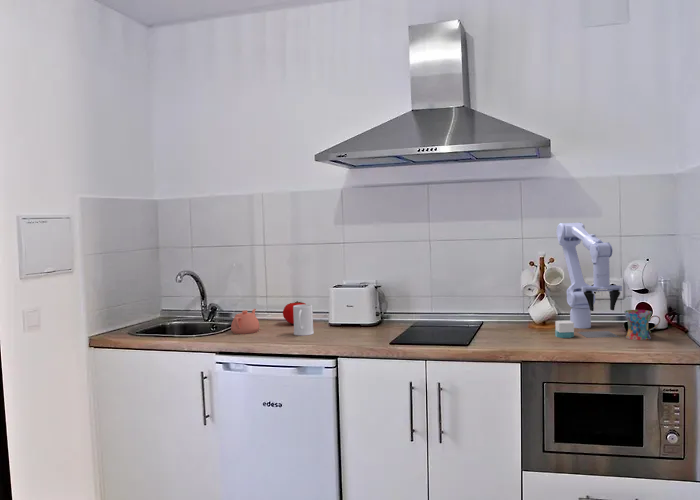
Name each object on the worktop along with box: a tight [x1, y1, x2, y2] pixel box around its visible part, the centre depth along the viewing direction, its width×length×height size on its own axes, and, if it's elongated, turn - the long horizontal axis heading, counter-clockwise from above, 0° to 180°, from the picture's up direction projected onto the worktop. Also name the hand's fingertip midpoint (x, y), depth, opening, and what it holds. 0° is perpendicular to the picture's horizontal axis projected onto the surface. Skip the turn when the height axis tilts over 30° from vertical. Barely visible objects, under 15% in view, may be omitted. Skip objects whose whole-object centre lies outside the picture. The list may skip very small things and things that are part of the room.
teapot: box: [230, 308, 261, 335], centre depth 288 cm, size 12×18×10 cm
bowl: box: [554, 329, 575, 339], centre depth 247 cm, size 6×6×3 cm
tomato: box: [282, 300, 306, 325], centre depth 304 cm, size 13×12×11 cm
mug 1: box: [293, 303, 315, 337], centre depth 276 cm, size 12×8×12 cm
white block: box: [555, 320, 575, 333], centre depth 247 cm, size 5×5×3 cm
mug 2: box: [623, 309, 661, 341], centre depth 239 cm, size 12×9×11 cm
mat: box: [577, 330, 620, 339], centre depth 249 cm, size 12×12×1 cm
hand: (601, 310), depth 249 cm, fingers open, 7 cm apart
